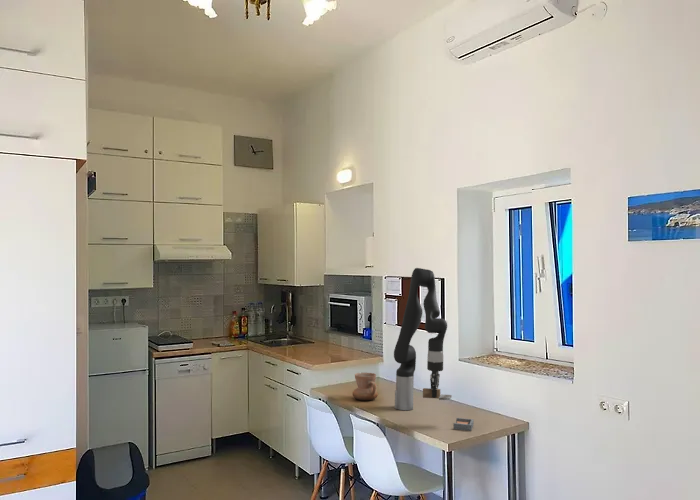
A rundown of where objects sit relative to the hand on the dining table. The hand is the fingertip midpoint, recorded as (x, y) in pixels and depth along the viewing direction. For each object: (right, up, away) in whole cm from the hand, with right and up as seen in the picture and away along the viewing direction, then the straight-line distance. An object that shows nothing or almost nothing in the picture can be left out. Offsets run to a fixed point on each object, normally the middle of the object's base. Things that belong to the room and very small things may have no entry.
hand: (434, 396), depth 261 cm
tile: (+12, -13, -5) cm, 19 cm away
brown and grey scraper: (+1, -1, 0) cm, 1 cm away
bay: (+12, -13, -5) cm, 18 cm away
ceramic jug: (-32, -15, +47) cm, 59 cm away
